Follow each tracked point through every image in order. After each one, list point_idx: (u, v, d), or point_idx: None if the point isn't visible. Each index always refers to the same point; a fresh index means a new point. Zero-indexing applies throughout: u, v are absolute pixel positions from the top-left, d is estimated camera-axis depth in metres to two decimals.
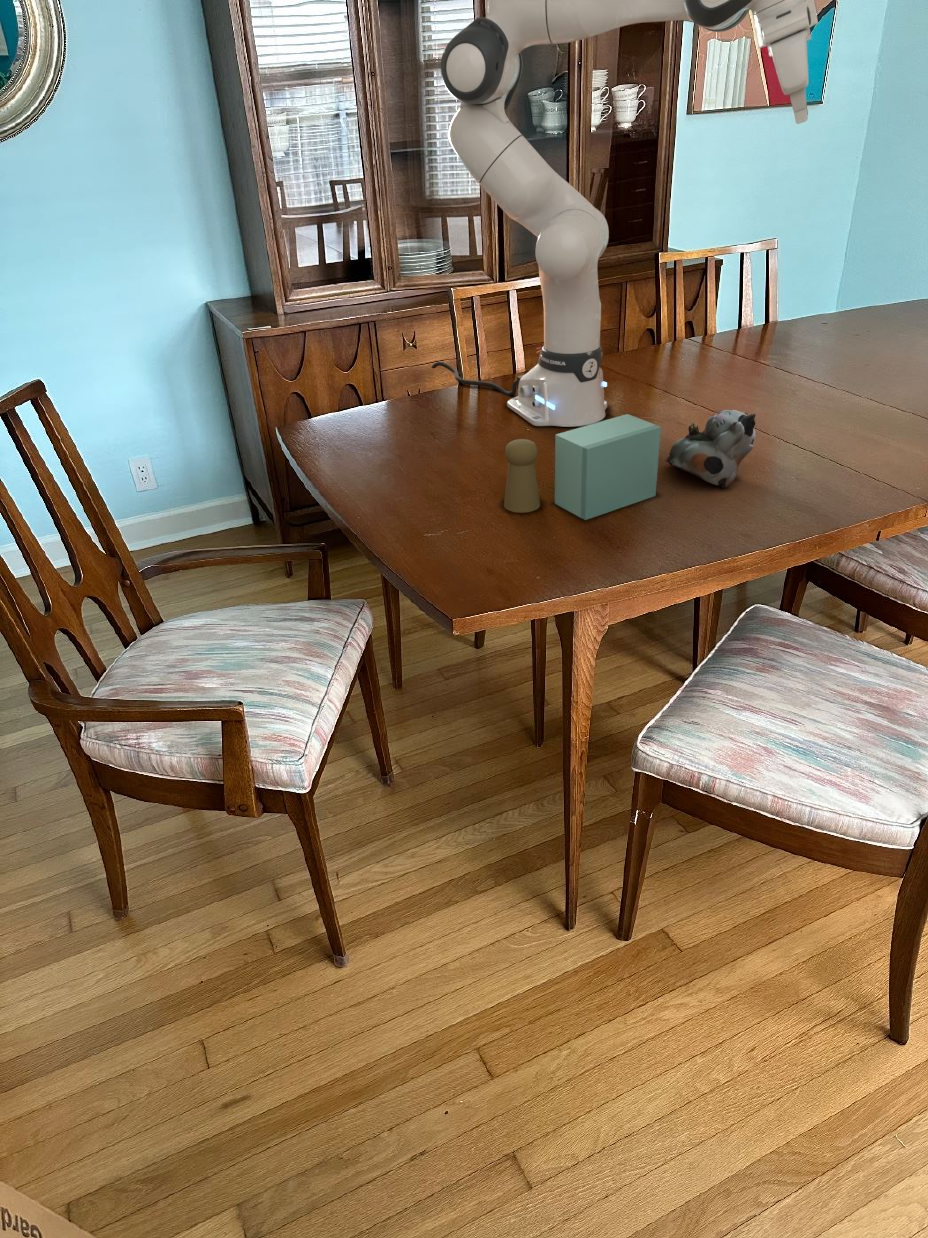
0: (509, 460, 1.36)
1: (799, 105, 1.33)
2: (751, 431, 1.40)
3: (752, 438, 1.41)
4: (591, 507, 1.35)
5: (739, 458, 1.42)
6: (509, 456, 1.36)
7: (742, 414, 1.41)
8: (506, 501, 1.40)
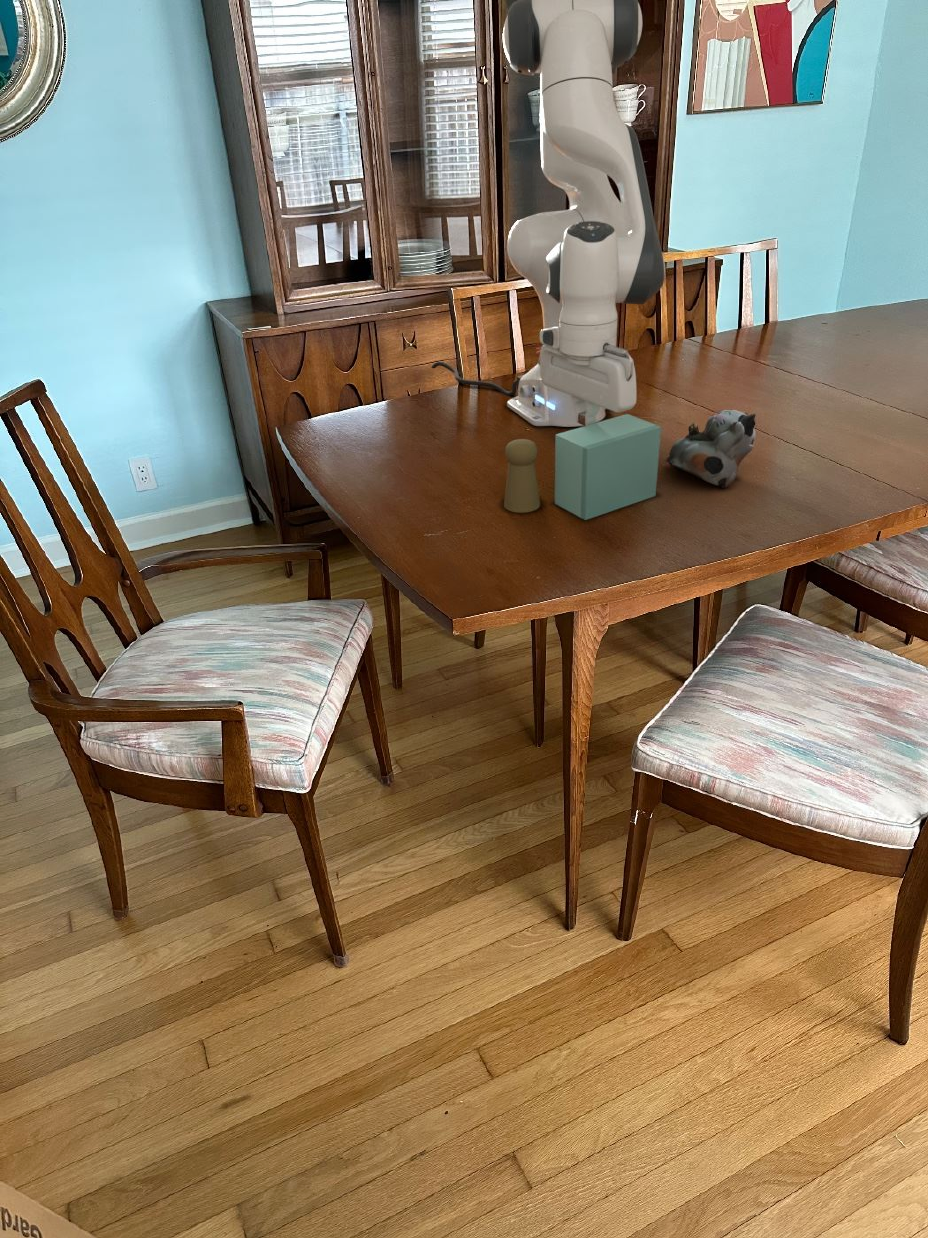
0: (509, 460, 1.36)
1: None
2: (751, 431, 1.40)
3: (752, 438, 1.41)
4: (591, 507, 1.35)
5: (739, 458, 1.42)
6: (509, 456, 1.36)
7: (742, 414, 1.41)
8: (506, 501, 1.40)
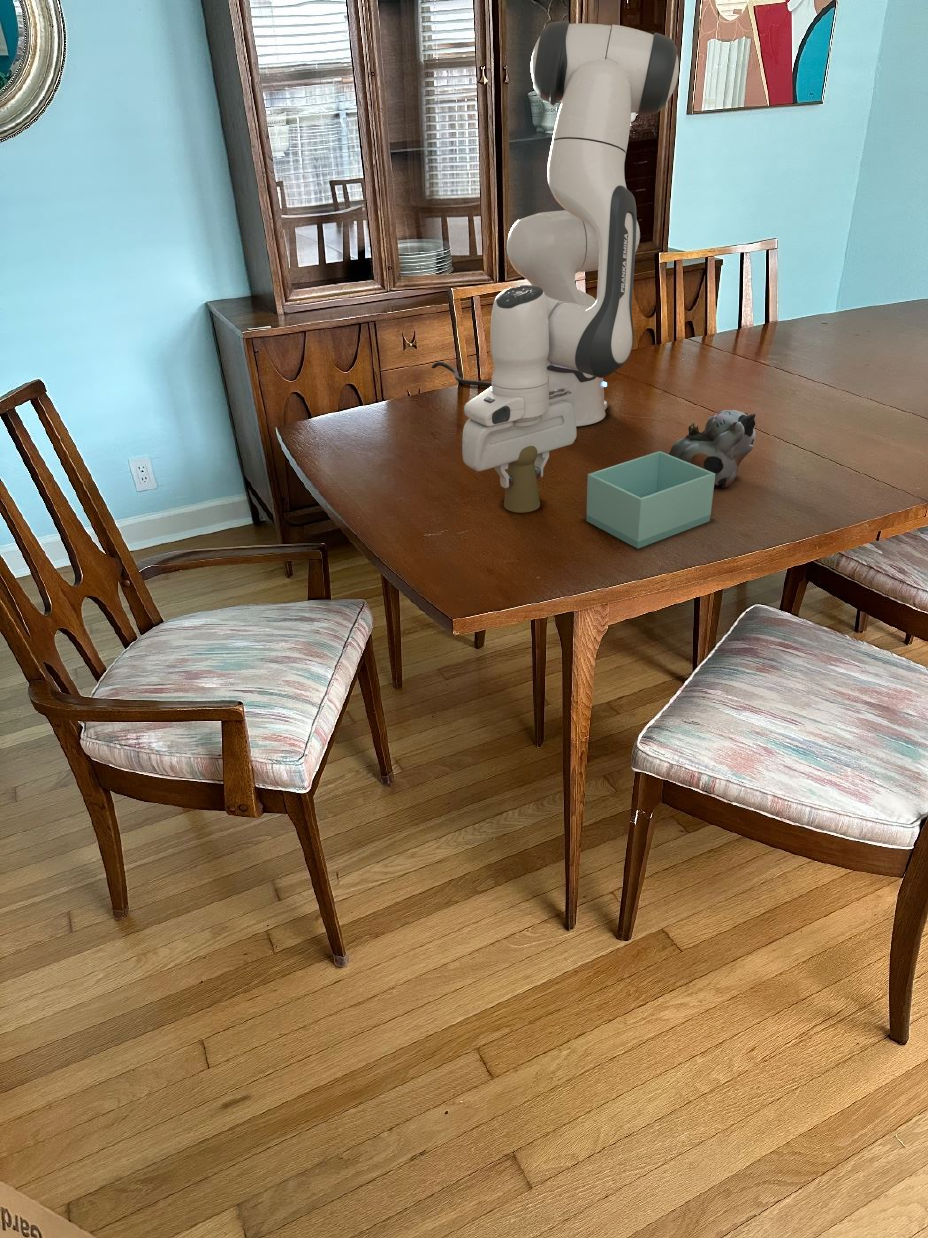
0: None
1: (500, 474, 1.36)
2: (751, 431, 1.40)
3: (752, 438, 1.41)
4: None
5: (739, 458, 1.43)
6: None
7: (742, 414, 1.41)
8: (506, 501, 1.40)
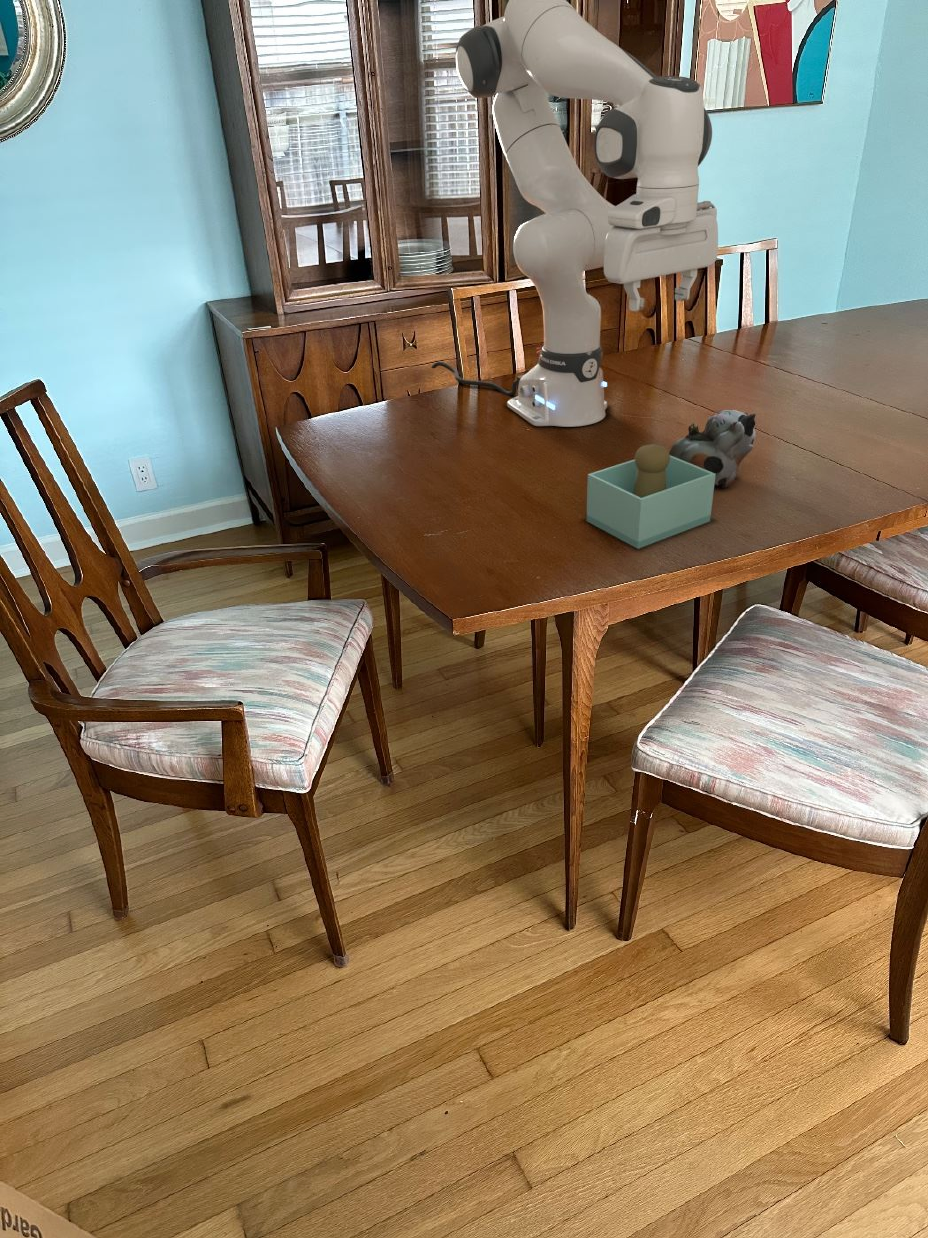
0: (640, 467, 1.28)
1: (631, 294, 1.28)
2: (751, 431, 1.40)
3: (752, 438, 1.41)
4: None
5: (739, 458, 1.42)
6: (640, 463, 1.28)
7: (742, 414, 1.41)
8: None
